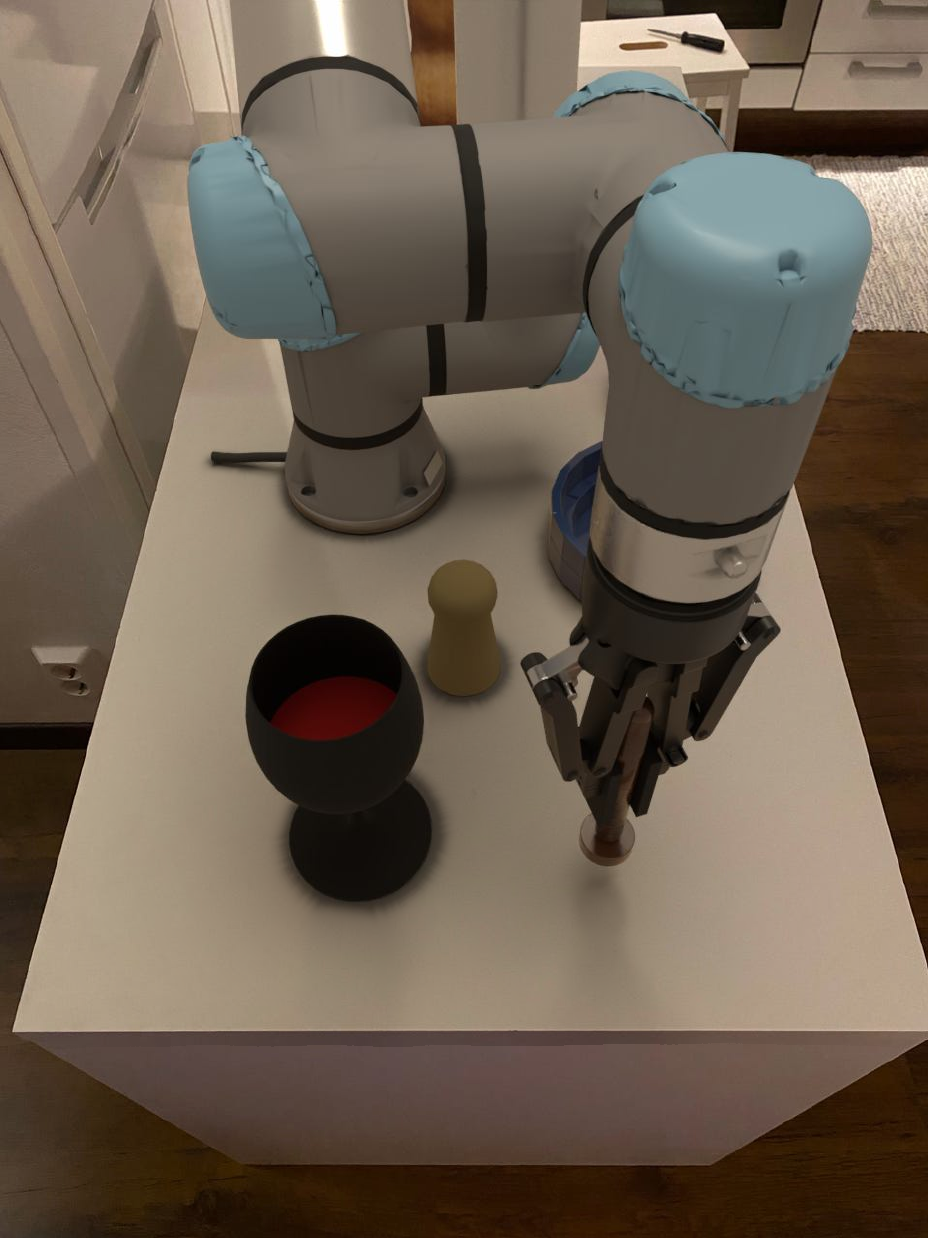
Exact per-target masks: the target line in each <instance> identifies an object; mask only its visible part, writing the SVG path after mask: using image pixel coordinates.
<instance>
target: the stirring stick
mask: <svg viewBox="0 0 928 1238" xmlns="http://www.w3.org/2000/svg"><path fill="white" fill-rule="evenodd" d="M653 717H654V705H653V703H652V701H651V700H650V699H649V698H648V697H647V695H646V698H645V701H644V703H643V706H642V708H641V709H639V710H635V711H633V713H632V716H631V719H630V721H629V724H628V727H627V730H626V732H625V735H624V738H623V740H622V743H621V746H620V749H619V751H618V754H617V757H616V760H617V762H618V764H619V766H620V768H621V770H622V772H623V777H622V781H621V785H620V789H619V793H618V797H617V801H616V805H615V809H614V813H613V817H612V822H611V826H608V827H605V828H602V829H599V828H598V825H597V823H596V821H595V819H594V817H593V814H592V812H591V813H589V814H587V816H586V817H585V818H584V819H583V821H582V823H581V825H580V829H579V834H578V844H579V848H580V850H581V852H582V854H583V856H585V857H586V859H588V860H589V861H590V862H591V863H593V864H595V865H597V866H600V867H605V868H607V867H609V868H611V867H615V866H619V865H621V864H623V863H625V862H626V860H628V858H630V855H631V854H632V852H633V848H634V845H635V841H636V834H635V829H634V826H633V824H632V822H630V820H629V819H628V818H627V817H628V813H629V810H630V807H631V806H630V802H631V799H632V795H633V791H634V788H635V784H636V780H637V776H638V773H639V769H640V765H641V761H642V758H643V754H644V750H645V747H646V743H647V739H648V735H649V732H650V728H651V724H652V721H653Z"/></svg>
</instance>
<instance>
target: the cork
mask: <svg viewBox="0 0 928 1238" xmlns="http://www.w3.org/2000/svg"><path fill="white" fill-rule="evenodd" d="M426 590H427V600H428V605H429V606H430V609H431V611H432V612H433V621H432V628H431V635H430V642H429V649H428V655H427V662H426V667H427V674H428V676H429V678H430V680H431V682H432V684H433V685H435V686H436V687H437V688H438V689H439V690H440V691H443V692H444V693H447V694H449V695H453V696H457V697H467V696H470V697H471V696H474V695H478V694H480V693H483V692H485V691H486V690H488V689H490V688H491V687H492V686H493V685H494V684H495V682H496V681H497V679H498V678H499V675H500V673H501V672H500V671H501V667H502V666H501V665H502V664H501V659H500V653H499V648H498V644H497V638H496V633H495V628H494V627H495V626H494V623H493V617H492V612H493V611H494V609H495V607H496V603H497V600H498V586H497V582H496V579H495V577H494V576H493V573H491V571H490V570H489V569H487V567H485V566H484V565H483V564H482V563H479V562H477V561H475V560H471V559H454V560H452V561H447V562H446V563H444V564H443V565H441V566H439V567H438V568H437V569H436V570H435V571H434V573H433V574H432V575H431V576H430V579H429V583H428V586H427V588H426Z"/></svg>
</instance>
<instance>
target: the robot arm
mask: <svg viewBox="0 0 928 1238" xmlns="http://www.w3.org/2000/svg"><path fill="white" fill-rule="evenodd" d="M404 2H405V1H404V0H229V9H230V10H229V11H230V21H231V33H232V43H233V54H234V55H233V57H234V64H235V65H234V68H235V78H236V89H237V91H236V92H237V102H238V112H239V123H240V130H241V131H240V134H241V135H237V136H234V135H231V136H230V138H228V139H227V140H224V141H219V142H211V143H204V144H203V145H200V146H199V147H197V148H196V149H195V150H194V151H193V153H192V154H191V158H190V160H189V164H188V175H187V178H186V189H187V190H186V191H187V202H188V211H189V212H188V214H189V221H190V228H191V234H192V241H193V246H194V252H195V257H196V262H197V266H198V270H199V275H200V279H201V282H202V286H203V290H204V293H205V296H206V299H207V302H208V305H209V307H210V310H211V313H212V314H213V316H214V318H215V320H216V321H217V322H218V324H219V325H220V326H221V327H222V328H223V329H224V330H225V331H226V333H228V334H230V335H232V336H234V337H235V338H240V339H243V340H277V341H278V343H279V348H280V354H281V358H282V362H283V368H284V373H285V379H286V385H287V389H288V396H289V401H290V406H291V411H292V417H293V423H292V427H291V432H290V437H289V442H288V447H287V450H286V451H263V452H262V451H256V452H255V451H253V452H252V451H251V452H223V451H222V452H221V451H214V450H213V451H211V453H210V460H211V461H212V462H216V463H226V464H243V463H244V464H247V463H284V478H285V483H286V489H287V493H288V495H289V498H290V501H291V502H292V504H293V506H294V507H295V508H296V509H297V510H298V512H299V513H300V514H301V515H302V516H304V517H305V518H306V519H308V520H309V521H310V522H312V523H314V524H316V525H318V526H320V527H321V528H325V529H327V530H331V531H335V532H339V533H345V534H356V535H357V534H358V535H362V534H376V533H383V532H387V531H391V530H394V529H398V528H401V527H402V526H405V525H408V524H409V523H412V522H413V521H415V520H417V519H419V518H420V517H421V516H423V515H424V514H425V513H427V512H428V511H429V510H430V509H432V507H433V506H434V505H435V504H436V502H437V501H438V500H439V498H440V496H441V495H442V493H443V490H444V488H445V484H446V476H447V474H446V473H447V472H446V471H447V470H446V456H445V453H444V449H443V446H442V443H441V441H440V438H439V437H438V434H437V433H436V430H435V429H434V426H433V424H432V422H431V420H430V418H429V415H428V414H427V411H426V409H425V408H424V407H425V406H424V403H423V398H431V397H440V396H441V397H442V396H452V395H461V394H473V393H482V392H483V393H484V392H491V391H492V392H493V391H494V392H495V391H503V390H504V391H505V390H513V389H523V388H528V389H529V390H540V389H542V388H544V387H547V386H551V385H557V384H558V385H559V384H565V383H571V382H575V381H576V380H578V379H579V378H580V377H582V376H583V375H585V374H586V373H587V372H588V371H589V369H590V368H591V367H592V365H593V363H594V362H595V359H596V358H597V355H598V353H599V351H600V348H601V351H602V354H603V355H604V358H605V361H606V366H607V375H608V376H607V377H608V378H607V379H608V387H607V389H608V390H607V396H606V397H607V398H606V407H605V414H604V423H603V433H602V440H601V441H602V444H601V452H600V463H599V468H598V475H597V482H596V488H595V495H594V501H593V508H592V514H591V523H590V537H589V542H588V547H587V555H586V562H585V570H584V577H583V585H582V600H581V618H580V619H579V620H578V623H577V624H576V625H575V626H574V628H573V629H572V630H571V632H570V633H569V634H570V635H569V638H568V645H569V646H568V647H566V648H565V649H563V650H561V651H559V652H557V653H556V654H555V655H553V656H552V657H549V658H548V657H546V656H545V655H544V654H543V653H542V652H540V651H533V652H530V653H527V654H526V655H525V656H523V657H522V658H521V659H520V662H519V664H520V667H521V669H522V671H523V673H524V675H525V678H526V680H527V682H528V685H529V687H530V689H531V691H532V693H533V695H534V698H535V701H536V702H537V704H538V705H539V708H540V713H541V719H542V720H541V721H542V726H543V731H544V736H545V742H546V745H547V747H548V750H549V752H550V754H551V756H552V759H553V761H554V763H555V765H556V767H557V769H558V772H559V774H560V777H561V779H562V780H563V782H565V783H570V782H573V781H576V783H577V785H578V788H579V790H580V792H581V794H582V796H583V798H584V799H585V802H586V803H587V806H588V808H589V810H590V812H591V813H592V814H593V817H594V819H595V821H596V823H597V825H598V828H599V829H602V828H605V827H608V826H611V822H612V817H613V813H614V809H615V805H616V801H617V797H618V793H619V789H620V785H621V781H622V777H623V772H622V770H621V768H620V766H619V764H618V762H617V760H616V757H617V754H618V751H619V749H620V746H621V743H622V740H623V738H624V735H625V732H626V730H627V727H628V724H629V721H630V719H631V716H632V713H633V711H635V710H639V709H641V708H642V706H643V703H644V701H645V698H646V696H647V697H648V698H649V699H650V700H651V701H652V703H653V705H654V717H653V721H652V724H651V728H650V732H649V735H648V739H647V743H646V747H645V750H644V754H643V758H642V761H641V765H640V769H639V773H638V776H637V780H636V784H635V788H634V791H633V795H632V799H631V802H630V806H629V807H630V808H631V810H632V813H633V814H634V817H635V818H639V817H642V816H646V815H647V814H648V812H649V809H650V806H651V803H652V800H653V795H654V793H655V789H656V786H657V783H658V779H659V776H662V775H665V774H666V773H667V772H668V770H670V768H677V767H679V766H682V765H683V764H684V763H686V762H687V761H688V760H689V756H688V754H687V752H686V750H685V749H684V747H683V745H684V741H685V740H688V739H690V738H692V739H693V741H694V742H701V741H705V740H707V739H708V738H709V737H711V736H712V734H713V733H714V731H715V730H716V728H717V726H718V725H719V723H720V721H721V719H722V718H723V716H724V714H725V712H726V710H727V709H728V707H729V705H730V704H731V702H732V701H733V699H734V697H735V695H736V693H737V692H738V690H739V688H740V687H741V685H742V683H743V682H744V680H745V678H746V676H747V675H748V673H749V671H750V669H751V667H752V666H753V664H754V662H755V661H756V660H757V657H758V656H759V655H760V654H762V652H764V650H765V649H766V648H767V647H768V646H769V645H770V644H771V643H772V642H773V641H774V640H775V639H776V638H777V637H778V636H779V635H780V633H781V631H782V630H781V627H780V626H779V624H778V622H777V621H776V620H775V618H774V617H773V616H772V613H770V611H769V610H768V608H767V607H766V606H765V604H764V602H763V601H762V599H761V598H760V597H759V595H758V594H757V590H758V587H759V584H760V581H761V578H762V577H761V576H762V573H763V572H762V571H763V570H762V569H763V567H764V565H765V563H766V561H767V559H768V556H769V554H770V551H771V548H772V545H773V543H774V539H775V537H776V534H777V532H778V529H779V526H780V523H781V520H782V517H783V515H784V512H785V508H786V506H787V503H788V501H789V497H790V493H791V490H792V489H793V486H794V484H795V482H796V479H797V476H798V474H799V471H800V469H801V466H802V463H803V460H804V458H805V455H806V453H807V450H808V447H809V445H810V443H811V439H812V437H813V433H814V431H815V430H816V426H817V423H818V421H819V418H820V415H821V413H822V410H823V407H824V406H825V403H826V400H827V397H828V394H829V392H830V389H831V386H832V384H833V381H834V379H835V376H836V373H837V370H838V368H839V365H840V364H841V363H842V362H843V360H844V358H845V355H846V354H847V353H848V352H847V351H848V349H849V347H850V345H851V343H850V340H851V338H852V335H853V333H854V329H855V325H854V324H853V320H854V319H855V316H856V313H857V304H858V303H857V302H858V299H859V296H860V293H861V289H862V286H863V283H864V279H865V276H866V272H867V269H868V266H869V263H870V259H871V257H872V249H873V233H872V226H871V221H870V218H869V215H868V212H867V210H866V208H865V206H864V205H863V203H862V202H861V200H860V199H859V198H858V196H857V195H856V194H855V193H854V192H853V191H852V190H851V189H850V188H849V187H848V186H846V184H845V183H844V182H842V181H840V180H838V179H836V178H830V177H823V176H819V175H817V174H816V171H815V168H813V166H812V165H810V164H809V163H806V162H803V161H800V160H797V159H793V158H790V157H785V156H782V155H777V154H771V153H762V152H761V153H760V152H746V151H745V152H744V151H730V150H729V147H728V146H727V143H726V140H725V136H724V135H723V133H722V132H721V131H720V129H719V128H718V127H717V125H716V124H715V123H714V121H713V119H712V118H711V117H710V116H708V115H707V113H706V112H703V111H702V110H701V109H700V108H698V107H697V106H696V104H695V105H694V103H693V101H691V100H690V99H689V98H688V96H687V95H686V94H685V93H684V92H683V91H682V89H680V88H679V87H678V86H677V85H675V84H674V83H673V82H671V81H670V80H668V79H666V78H664V77H662V76H660V75H657V74H656V73H655V74H654V73H652V72H647V71H641V70H622V71H614V72H610V73H606V74H603V75H602V76H599V77H598V78H596V79H595V80H593V81H592V82H589V83H588V84H586V85H585V86H583V87H582V88H580V89H578V81H579V79H578V77H579V64H580V63H579V61H580V46H581V45H580V44H581V29H582V28H581V27H582V11H583V10H582V8H583V0H454V34H455V71H456V108H457V125H446V126H424V127H421V126H420V120H419V112H418V103H417V96H416V88H415V81H414V74H413V67H412V59H411V45H410V39H409V31H408V25H407V16H406V9H405V8H406V7H405V3H404ZM583 671H584V672H586V673H588V674H589V675H590V676H592V677H593V679H592V683H591V685H590V689H589V693H588V696H587V699H586V702H585V707H584V709H583V713H582V716H581V719H580V722H579V721H578V713H577V711H576V708H575V706H574V703H573V701H575V700H576V699H577V698H578V692H577V690H576V688H577V685H578V684H579V680H578V676H579V675H580V674H581V672H583ZM578 723H579V724H578Z"/></svg>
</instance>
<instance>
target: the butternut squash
mask: <svg viewBox="0 0 928 1238" xmlns="http://www.w3.org/2000/svg"><path fill="white" fill-rule="evenodd" d="M406 1H407V2H406V3H407V4H406V5H407V11H408V12H407V13H408V19H409V20H408V21H409V22H408V23H409V30H410V36H411V37H410V38H411V39H410V41H411V45H410V52H411V59H412V67H413V74H414V81H415V88H416V96H417V103H418V112H419V120H420V126H421V127H424V126H446V125H457V108H456V71H455V34H454V0H406Z"/></svg>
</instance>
